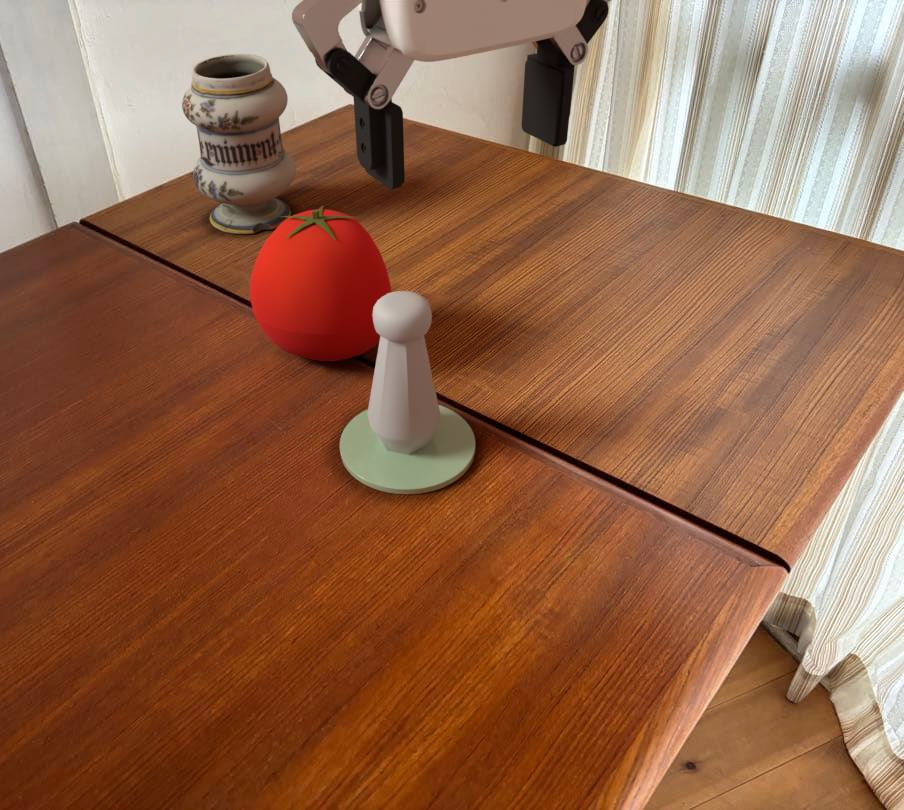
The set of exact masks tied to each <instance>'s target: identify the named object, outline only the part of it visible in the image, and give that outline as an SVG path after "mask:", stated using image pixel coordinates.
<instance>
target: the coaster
mask: <svg viewBox="0 0 904 810" xmlns="http://www.w3.org/2000/svg"><path fill="white" fill-rule="evenodd" d="M438 405H439V410H440V414H441V417H440V422H439V424H438V427H437V429H436V431H435V433H434V435H433V437H432V438H431V440H430V442H429V444H428V445H427V446H426V447H424V448H422V449H420V450H417V451H415V452H413V453H411V454H409V455H408V454H403V453H398V452H392V451H387V450H386V448H385V446H384V444H383V443H382V442H381V440H380V439H379V438H378V437H377V436H376V434H375V433H374V432H373V431H372V429H371V427H370V423H369V419H368V414H367V412H368V408H366V409H365V410H363V411H361V412H360V413H358V414H357V415H355V416H354V417H352V419H351V420H350V421H349V422H348V423H347V425H346V426H345V427H344V429H343V431H342V433H341V435H340V439H339V454H340V459H341V462H342V464H343V466H344V467H345V469H346V470H347V472H348V473H349V474H350V475H351V476H352V477H353V478H354V479H355V480H357V481H358V482H359V483H361V484H363V485H364V486H367V487H369V488H371V489H374V490H377V491H380V492H384V493H387V494H395V495H419V494H426V493H431V492H435V491H437V490H441V489H443V488H445V487H447V486H450V485H451V484H453V483H455V482H456V481H458V480H459V479H460V478H461V477H462V476H464V475H465V474H466V472H467V471H468V470H469V469H470V467H471V466H472V464H473V462H474V460H475V455H476V444H477V443H476V437H475V434H474V431H473V429H472V427H471V426H470V425H469V423H468V422H467V421H466V420H465V419H464V418H463V417H462V416H461V415H459V414H458V413H456V411H454V410H452V409H450V408H448V407H446V406H444V405H441V404H438Z"/></svg>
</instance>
